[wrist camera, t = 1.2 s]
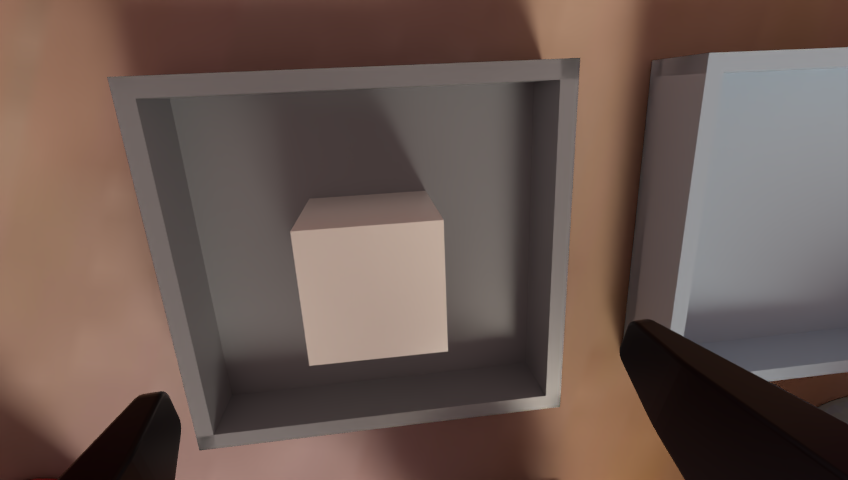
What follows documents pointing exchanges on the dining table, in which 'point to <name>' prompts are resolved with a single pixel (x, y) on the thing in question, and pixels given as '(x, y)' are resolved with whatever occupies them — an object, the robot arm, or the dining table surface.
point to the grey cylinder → (837, 408)
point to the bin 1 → (349, 176)
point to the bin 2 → (747, 208)
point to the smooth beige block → (371, 277)
